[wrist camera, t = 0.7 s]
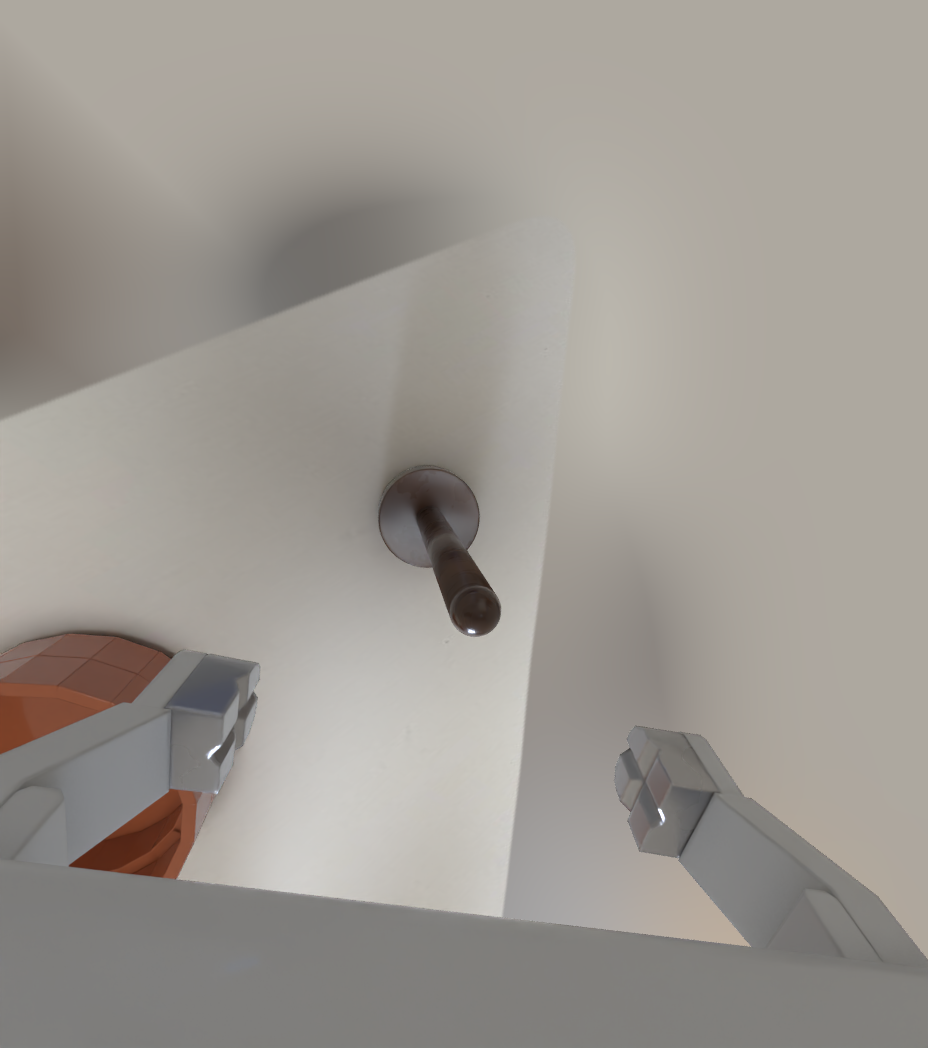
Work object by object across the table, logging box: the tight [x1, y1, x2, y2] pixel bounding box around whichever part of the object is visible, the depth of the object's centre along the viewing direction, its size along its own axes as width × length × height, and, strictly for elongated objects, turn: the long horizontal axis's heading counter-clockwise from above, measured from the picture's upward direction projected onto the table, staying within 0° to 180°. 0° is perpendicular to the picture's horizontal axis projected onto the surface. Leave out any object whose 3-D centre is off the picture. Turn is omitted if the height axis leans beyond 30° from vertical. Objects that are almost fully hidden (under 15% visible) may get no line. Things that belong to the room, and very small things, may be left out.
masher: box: [379, 466, 501, 637], centre depth 22 cm, size 6×6×17 cm
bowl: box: [0, 634, 216, 879], centre depth 27 cm, size 15×15×6 cm
